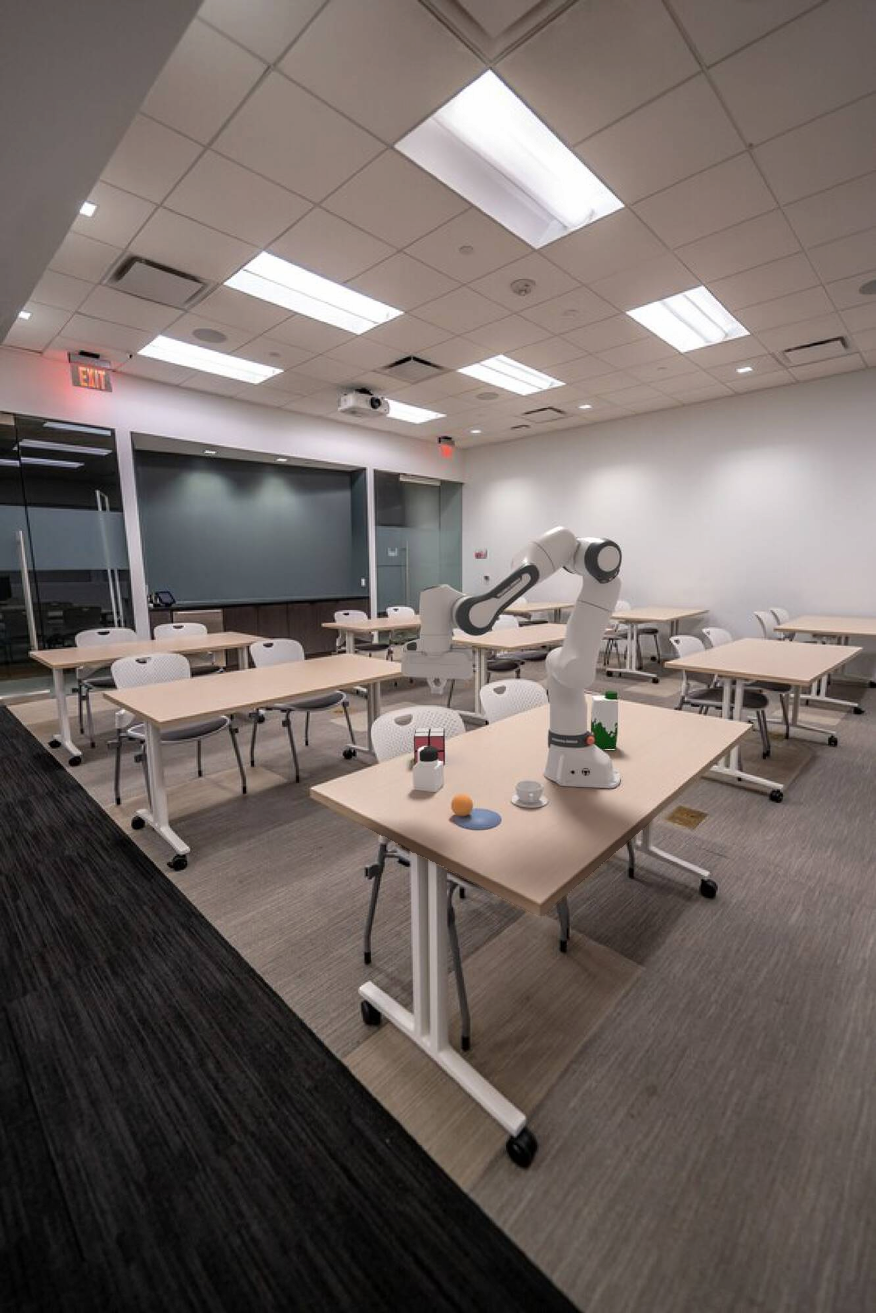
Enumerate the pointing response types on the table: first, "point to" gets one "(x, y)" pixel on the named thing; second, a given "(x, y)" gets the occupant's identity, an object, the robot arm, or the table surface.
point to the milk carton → (605, 720)
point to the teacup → (529, 794)
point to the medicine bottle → (428, 770)
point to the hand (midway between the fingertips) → (437, 693)
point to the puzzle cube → (430, 741)
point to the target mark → (479, 819)
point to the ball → (462, 805)
